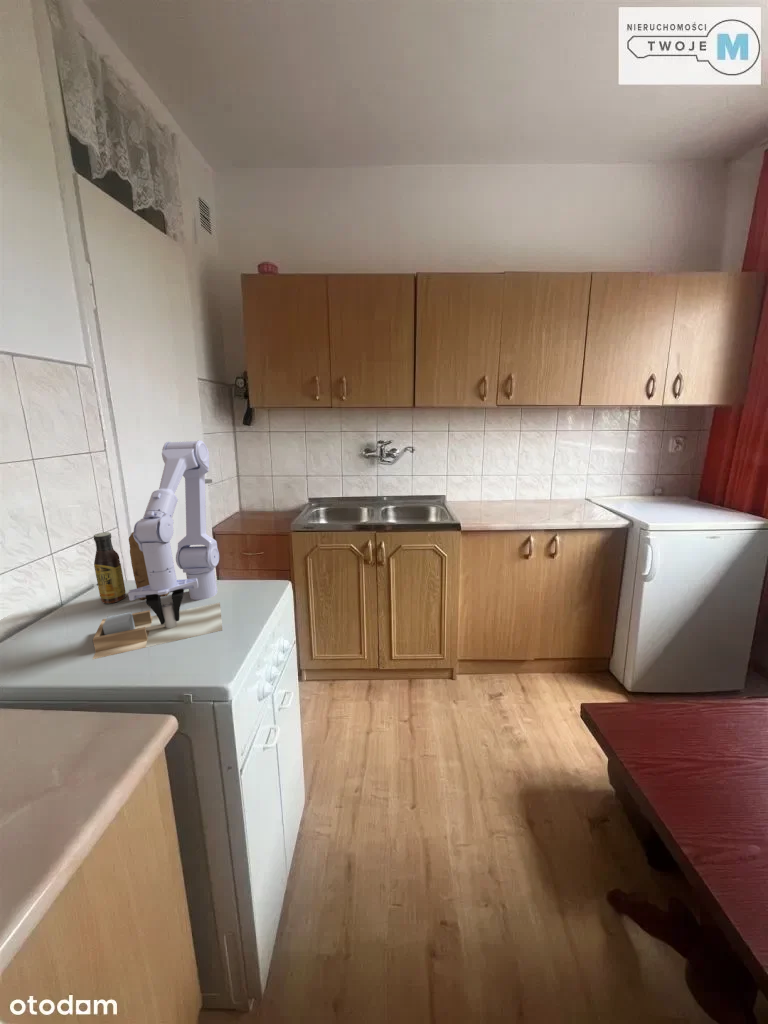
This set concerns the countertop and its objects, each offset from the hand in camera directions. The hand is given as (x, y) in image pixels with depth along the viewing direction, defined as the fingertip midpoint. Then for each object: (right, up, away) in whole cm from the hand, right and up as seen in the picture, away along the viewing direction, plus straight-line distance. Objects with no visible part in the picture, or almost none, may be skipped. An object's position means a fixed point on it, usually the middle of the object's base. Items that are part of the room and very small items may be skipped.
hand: (170, 620), depth 102 cm
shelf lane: (-1, -3, 0) cm, 3 cm away
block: (-15, +2, +22) cm, 27 cm away
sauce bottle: (-26, +1, +20) cm, 33 cm away
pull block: (-5, -2, -2) cm, 6 cm away
